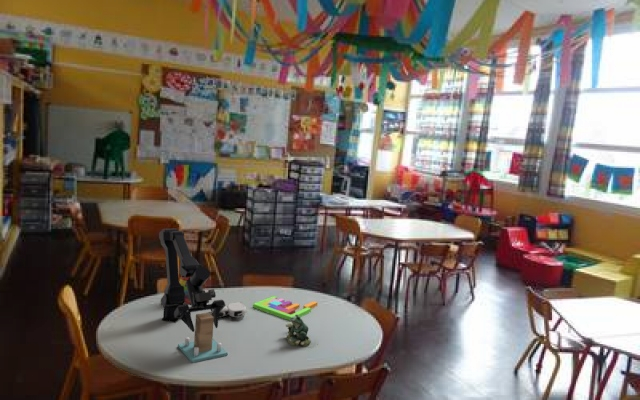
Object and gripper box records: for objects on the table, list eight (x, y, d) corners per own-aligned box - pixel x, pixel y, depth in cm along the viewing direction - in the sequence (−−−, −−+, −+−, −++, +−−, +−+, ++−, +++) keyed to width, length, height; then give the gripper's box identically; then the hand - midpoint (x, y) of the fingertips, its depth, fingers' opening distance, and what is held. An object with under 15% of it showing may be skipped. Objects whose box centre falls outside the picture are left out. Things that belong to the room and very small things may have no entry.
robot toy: (213, 323, 220) (248, 319, 225) (213, 313, 220) (248, 310, 224) (210, 312, 232) (243, 309, 236) (210, 303, 231) (243, 300, 236)
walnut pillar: (193, 346, 192) (195, 314, 190) (206, 344, 195) (208, 312, 193) (199, 352, 188) (201, 319, 186) (211, 349, 191) (213, 317, 189)
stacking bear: (196, 304, 237) (198, 268, 234) (174, 302, 237) (176, 266, 234) (201, 297, 247) (204, 261, 245) (181, 295, 247) (183, 259, 245)
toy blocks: (291, 322, 229) (320, 308, 250) (292, 317, 228) (321, 303, 249) (252, 308, 240) (283, 295, 262) (253, 303, 240) (284, 291, 261)
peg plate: (178, 346, 193) (178, 336, 193) (212, 340, 202) (212, 330, 201) (191, 362, 182) (192, 352, 182) (227, 355, 190) (228, 345, 190)
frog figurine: (271, 332, 215) (273, 306, 213) (312, 331, 220) (314, 306, 218) (280, 351, 198) (282, 323, 196) (324, 350, 203) (326, 322, 202)
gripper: (178, 285, 186) (188, 324, 179) (225, 279, 197) (235, 317, 190) (169, 298, 193) (178, 337, 186) (215, 292, 204) (225, 328, 197)
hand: (205, 329), depth 190 cm, fingers open, 9 cm apart
